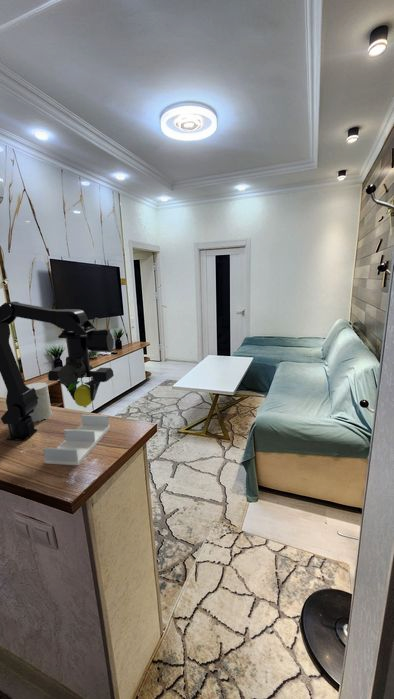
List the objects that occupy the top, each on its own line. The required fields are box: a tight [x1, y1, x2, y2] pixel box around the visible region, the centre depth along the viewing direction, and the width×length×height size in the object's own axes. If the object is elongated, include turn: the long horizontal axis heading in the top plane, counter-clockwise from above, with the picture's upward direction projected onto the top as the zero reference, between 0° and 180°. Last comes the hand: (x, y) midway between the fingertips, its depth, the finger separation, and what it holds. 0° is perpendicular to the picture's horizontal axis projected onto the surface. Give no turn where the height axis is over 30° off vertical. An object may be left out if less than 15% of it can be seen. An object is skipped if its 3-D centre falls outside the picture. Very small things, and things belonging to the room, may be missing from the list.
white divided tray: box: [43, 414, 111, 466], centre depth 89 cm, size 10×21×4 cm, turn 172°
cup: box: [25, 382, 53, 423], centre depth 107 cm, size 8×8×12 cm
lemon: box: [67, 378, 93, 409], centre depth 91 cm, size 7×6×10 cm
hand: (84, 400), depth 91 cm, fingers closed on lemon, 5 cm apart
